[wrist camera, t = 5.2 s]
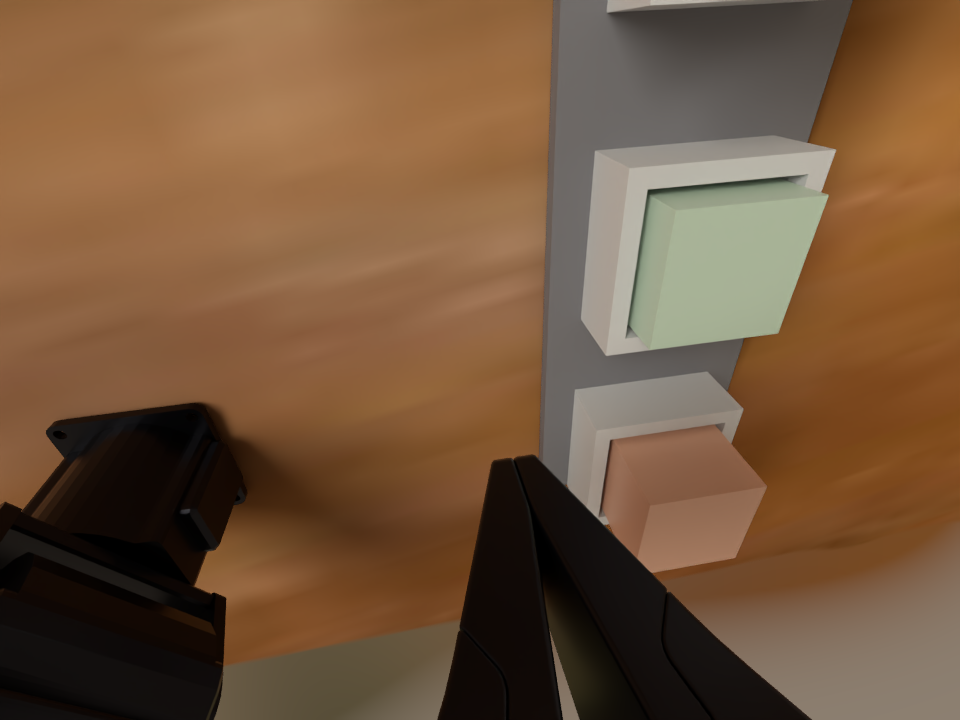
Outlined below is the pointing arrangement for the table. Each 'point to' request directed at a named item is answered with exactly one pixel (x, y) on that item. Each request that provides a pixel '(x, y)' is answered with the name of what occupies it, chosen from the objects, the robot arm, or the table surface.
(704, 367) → the button panel
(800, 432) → the table surface
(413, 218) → the table surface
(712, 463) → the terracotta button
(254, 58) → the table surface
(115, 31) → the table surface
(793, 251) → the sage button
